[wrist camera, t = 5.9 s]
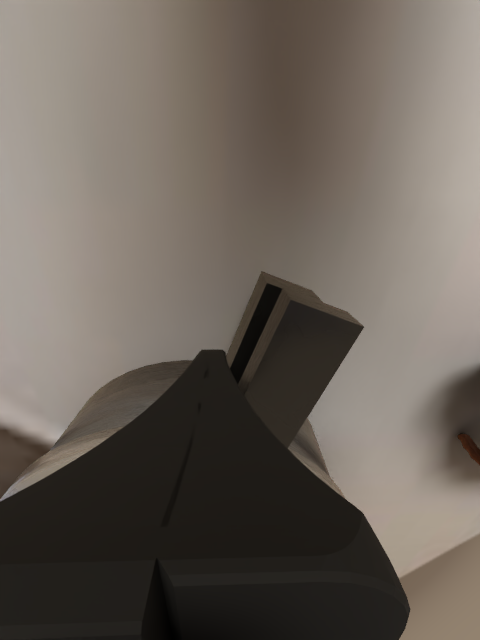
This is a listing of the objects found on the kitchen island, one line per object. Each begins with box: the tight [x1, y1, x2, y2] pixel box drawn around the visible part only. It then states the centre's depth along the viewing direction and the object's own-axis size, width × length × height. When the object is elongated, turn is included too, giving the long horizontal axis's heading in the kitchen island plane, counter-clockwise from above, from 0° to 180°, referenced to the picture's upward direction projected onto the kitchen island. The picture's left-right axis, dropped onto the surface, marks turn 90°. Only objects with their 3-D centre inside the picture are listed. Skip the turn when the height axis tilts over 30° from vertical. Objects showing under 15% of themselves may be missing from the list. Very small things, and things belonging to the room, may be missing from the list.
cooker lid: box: [0, 288, 364, 501], centre depth 12 cm, size 25×18×3 cm
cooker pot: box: [49, 272, 330, 477], centre depth 15 cm, size 24×18×5 cm
